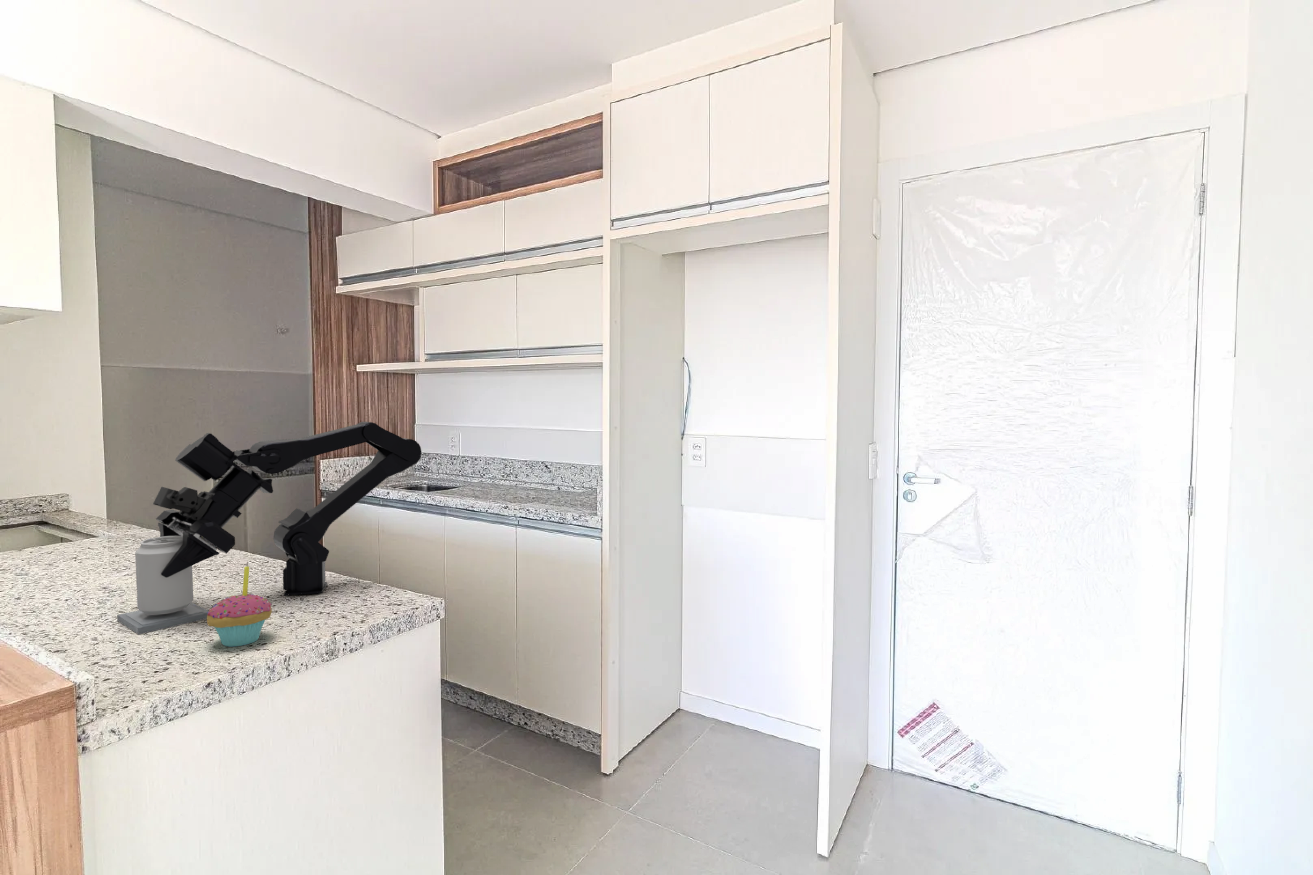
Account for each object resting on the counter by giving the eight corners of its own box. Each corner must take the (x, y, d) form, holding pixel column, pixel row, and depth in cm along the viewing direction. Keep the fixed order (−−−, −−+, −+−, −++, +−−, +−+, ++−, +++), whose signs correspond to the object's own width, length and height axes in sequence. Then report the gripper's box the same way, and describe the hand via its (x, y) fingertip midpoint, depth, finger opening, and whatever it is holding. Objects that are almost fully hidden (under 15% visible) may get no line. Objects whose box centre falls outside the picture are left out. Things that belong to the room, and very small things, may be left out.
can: (163, 618, 103) (160, 545, 102) (125, 614, 105) (122, 542, 104) (204, 603, 110) (202, 535, 110) (168, 600, 112) (166, 532, 111)
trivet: (187, 605, 114) (187, 599, 114) (211, 617, 109) (210, 611, 109) (117, 620, 106) (117, 614, 106) (138, 634, 100) (138, 627, 100)
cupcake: (228, 631, 103) (227, 557, 102) (283, 630, 103) (282, 557, 103) (194, 652, 94) (192, 572, 93) (254, 651, 95) (253, 572, 94)
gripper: (168, 465, 115) (91, 536, 106) (211, 473, 104) (129, 553, 96) (219, 502, 122) (151, 572, 113) (264, 514, 111) (192, 592, 103)
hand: (154, 571), depth 106 cm, fingers closed on can, 7 cm apart
